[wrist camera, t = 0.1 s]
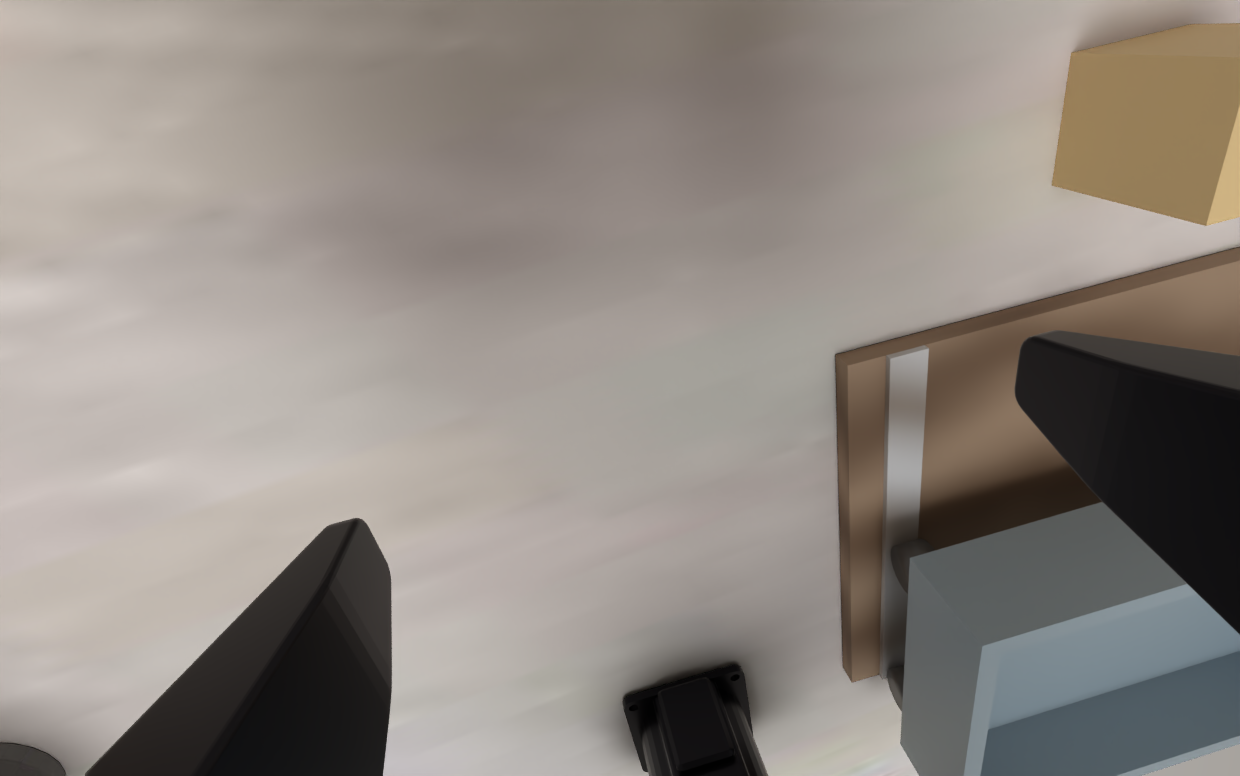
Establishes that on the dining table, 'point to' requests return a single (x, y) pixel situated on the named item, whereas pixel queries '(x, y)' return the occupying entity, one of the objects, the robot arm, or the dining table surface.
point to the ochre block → (1156, 123)
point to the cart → (1059, 655)
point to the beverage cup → (27, 762)
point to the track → (981, 431)
